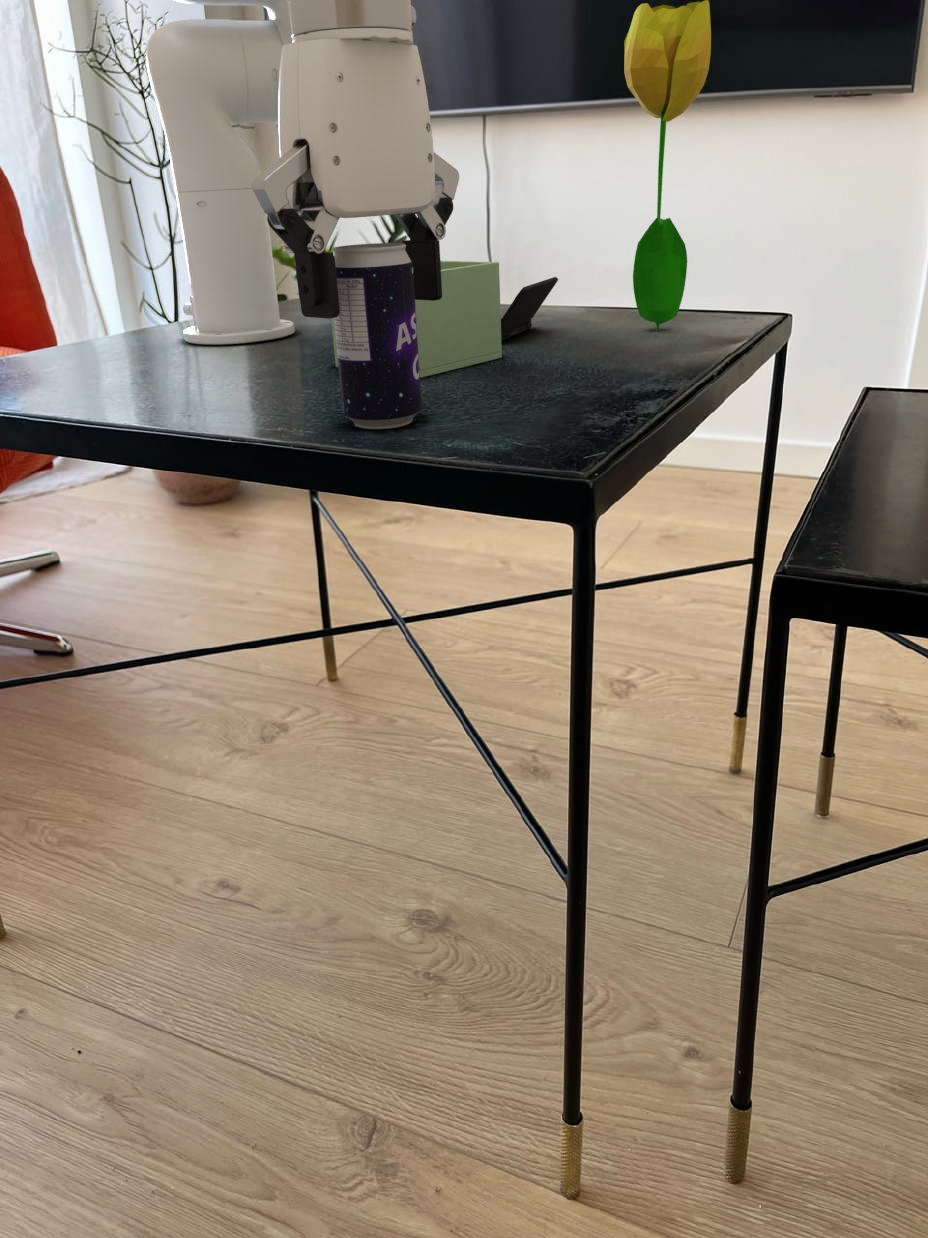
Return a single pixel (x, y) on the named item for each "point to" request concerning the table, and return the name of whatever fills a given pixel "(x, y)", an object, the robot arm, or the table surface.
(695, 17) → the flower
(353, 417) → the beverage can
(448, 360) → the pale green square box
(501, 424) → the table surface
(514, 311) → the black tablet stand
